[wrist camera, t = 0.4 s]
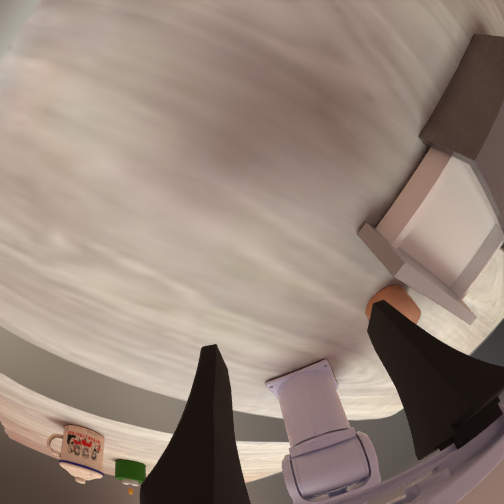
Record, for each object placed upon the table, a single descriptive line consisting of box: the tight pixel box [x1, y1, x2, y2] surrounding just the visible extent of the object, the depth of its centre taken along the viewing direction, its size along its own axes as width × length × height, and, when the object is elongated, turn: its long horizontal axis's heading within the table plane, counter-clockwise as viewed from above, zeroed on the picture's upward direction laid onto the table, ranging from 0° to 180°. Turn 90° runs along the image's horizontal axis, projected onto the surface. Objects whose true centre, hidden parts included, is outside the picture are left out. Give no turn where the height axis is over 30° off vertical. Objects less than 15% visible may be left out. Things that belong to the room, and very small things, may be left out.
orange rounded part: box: [366, 285, 421, 324], centre depth 25 cm, size 5×5×4 cm
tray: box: [357, 147, 504, 325], centre depth 20 cm, size 12×20×6 cm, turn 59°
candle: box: [115, 459, 146, 495], centre depth 47 cm, size 8×8×10 cm
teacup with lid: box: [47, 425, 104, 484], centre depth 32 cm, size 12×9×12 cm
